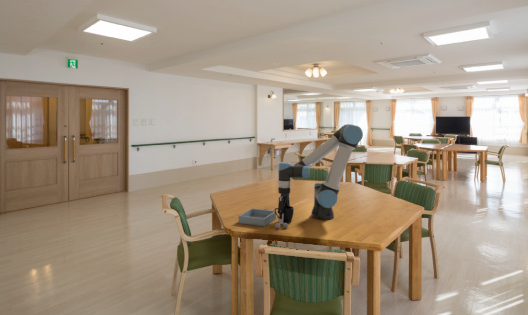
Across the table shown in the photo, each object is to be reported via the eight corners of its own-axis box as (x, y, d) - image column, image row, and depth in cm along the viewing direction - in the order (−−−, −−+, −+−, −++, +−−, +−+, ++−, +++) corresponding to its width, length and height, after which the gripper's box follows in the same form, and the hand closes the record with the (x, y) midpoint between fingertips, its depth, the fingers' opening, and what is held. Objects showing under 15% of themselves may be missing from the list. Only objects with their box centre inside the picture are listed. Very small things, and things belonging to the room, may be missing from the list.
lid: (271, 210, 235) (271, 207, 235) (269, 216, 222) (269, 212, 221) (258, 210, 237) (258, 207, 236) (254, 215, 223) (254, 212, 223)
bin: (276, 218, 216) (276, 211, 215) (264, 227, 198) (264, 219, 197) (251, 215, 222) (251, 208, 222) (238, 223, 204) (238, 215, 204)
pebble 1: (281, 228, 196) (281, 222, 195) (279, 229, 193) (279, 224, 192) (275, 227, 197) (275, 221, 197) (273, 229, 194) (273, 223, 194)
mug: (274, 219, 213) (274, 205, 212) (293, 220, 212) (293, 205, 211) (274, 223, 205) (274, 208, 204) (293, 224, 204) (293, 209, 203)
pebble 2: (288, 227, 196) (288, 222, 196) (286, 229, 194) (287, 224, 193) (283, 227, 198) (283, 222, 197) (281, 228, 195) (281, 223, 194)
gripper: (284, 183, 218) (283, 216, 220) (272, 189, 198) (272, 225, 200) (295, 184, 215) (294, 217, 217) (284, 190, 195) (283, 227, 197)
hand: (283, 221), depth 209 cm, fingers open, 9 cm apart
